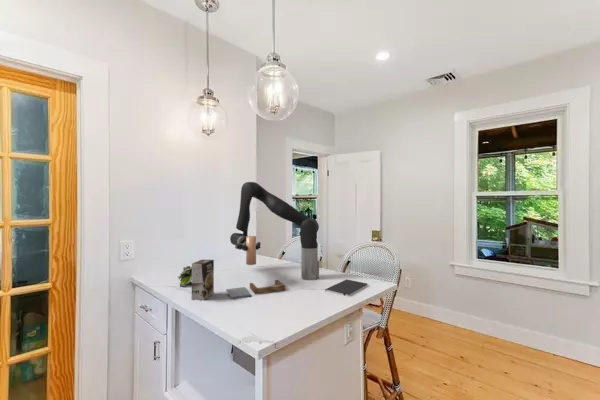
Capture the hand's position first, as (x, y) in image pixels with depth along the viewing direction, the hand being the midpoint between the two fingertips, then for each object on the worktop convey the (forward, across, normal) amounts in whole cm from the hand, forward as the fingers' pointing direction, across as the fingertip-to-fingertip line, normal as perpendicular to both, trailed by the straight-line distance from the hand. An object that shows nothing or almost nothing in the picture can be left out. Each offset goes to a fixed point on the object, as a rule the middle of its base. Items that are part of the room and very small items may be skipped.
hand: (252, 247), depth 145 cm
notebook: (+20, +44, +21) cm, 52 cm away
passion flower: (-18, -28, +20) cm, 39 cm away
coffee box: (+5, -24, +20) cm, 32 cm away
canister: (-2, 0, +8) cm, 9 cm away
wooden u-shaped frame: (+5, +6, +20) cm, 21 cm away
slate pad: (+8, -8, +20) cm, 23 cm away
